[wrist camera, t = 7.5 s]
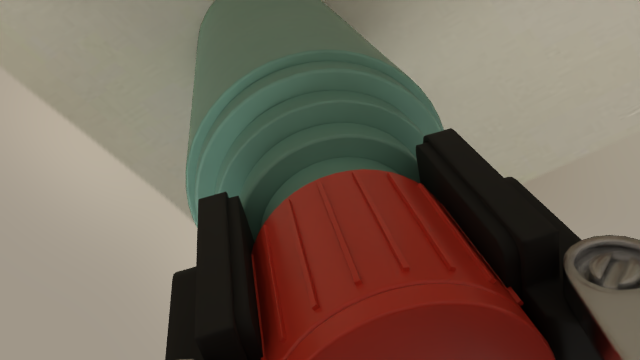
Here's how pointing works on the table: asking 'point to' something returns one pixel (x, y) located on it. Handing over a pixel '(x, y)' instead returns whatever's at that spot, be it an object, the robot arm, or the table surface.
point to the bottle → (294, 105)
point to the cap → (381, 279)
